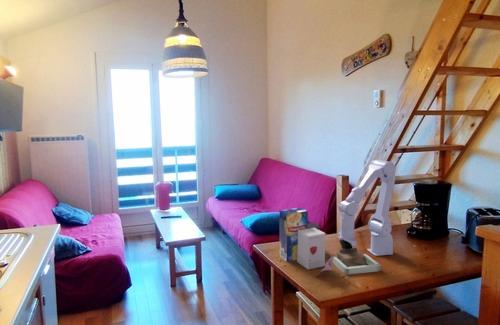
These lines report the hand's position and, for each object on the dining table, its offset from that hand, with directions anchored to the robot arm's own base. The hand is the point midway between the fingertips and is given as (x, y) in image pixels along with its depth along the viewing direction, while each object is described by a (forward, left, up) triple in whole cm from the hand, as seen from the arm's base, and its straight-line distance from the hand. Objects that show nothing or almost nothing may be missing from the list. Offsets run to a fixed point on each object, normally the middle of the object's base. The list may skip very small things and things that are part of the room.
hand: (346, 255), depth 167 cm
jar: (+12, -14, -1) cm, 19 cm away
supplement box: (+18, +2, -2) cm, 18 cm away
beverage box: (+23, -7, -1) cm, 24 cm away
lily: (+16, +14, -2) cm, 21 cm away
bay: (0, +8, -1) cm, 8 cm away
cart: (0, +5, -1) cm, 5 cm away
